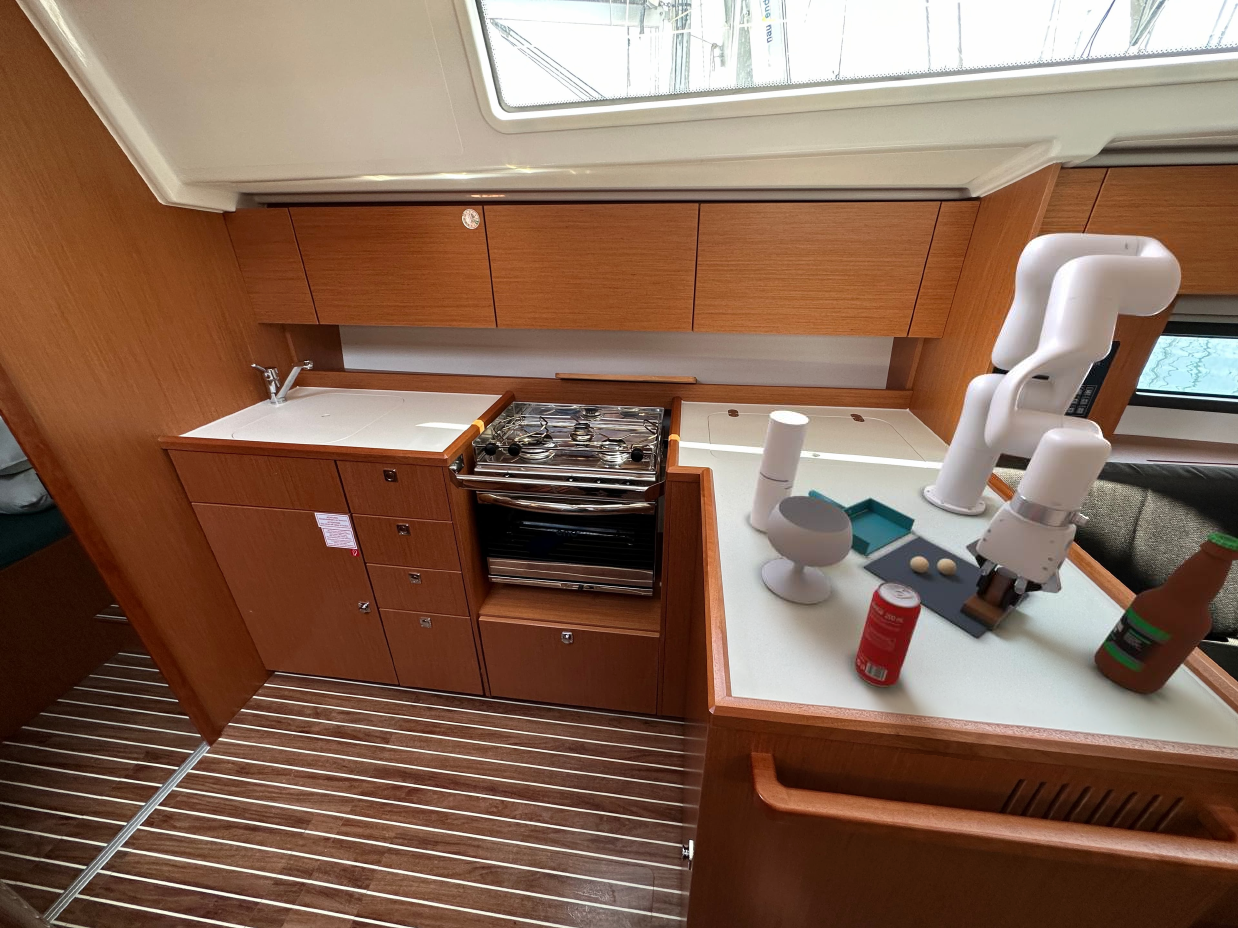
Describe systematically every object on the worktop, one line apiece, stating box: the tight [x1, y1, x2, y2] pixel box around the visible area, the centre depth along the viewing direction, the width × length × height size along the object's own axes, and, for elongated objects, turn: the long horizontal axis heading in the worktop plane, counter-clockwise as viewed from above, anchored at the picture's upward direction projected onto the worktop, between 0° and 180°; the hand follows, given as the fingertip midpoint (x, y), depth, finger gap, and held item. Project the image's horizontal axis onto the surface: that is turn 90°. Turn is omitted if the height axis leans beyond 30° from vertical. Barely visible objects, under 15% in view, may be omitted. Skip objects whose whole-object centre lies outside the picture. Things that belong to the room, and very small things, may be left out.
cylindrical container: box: [749, 410, 809, 533], centre depth 98 cm, size 7×7×25 cm
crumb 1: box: [910, 557, 929, 573], centre depth 89 cm, size 3×3×3 cm
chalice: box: [761, 495, 853, 604], centre depth 83 cm, size 14×14×15 cm
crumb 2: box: [937, 559, 956, 575], centre depth 89 cm, size 3×3×3 cm
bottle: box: [1093, 532, 1238, 694], centre depth 65 cm, size 7×7×25 cm
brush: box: [960, 566, 1022, 632], centre depth 80 cm, size 10×5×8 cm, turn 124°
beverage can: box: [854, 581, 922, 688], centre depth 66 cm, size 6×6×15 cm
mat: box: [862, 536, 1030, 639], centre depth 88 cm, size 20×20×1 cm
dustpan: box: [807, 489, 916, 557], centre depth 105 cm, size 20×17×3 cm
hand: (994, 598), depth 80 cm, fingers closed on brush, 3 cm apart
